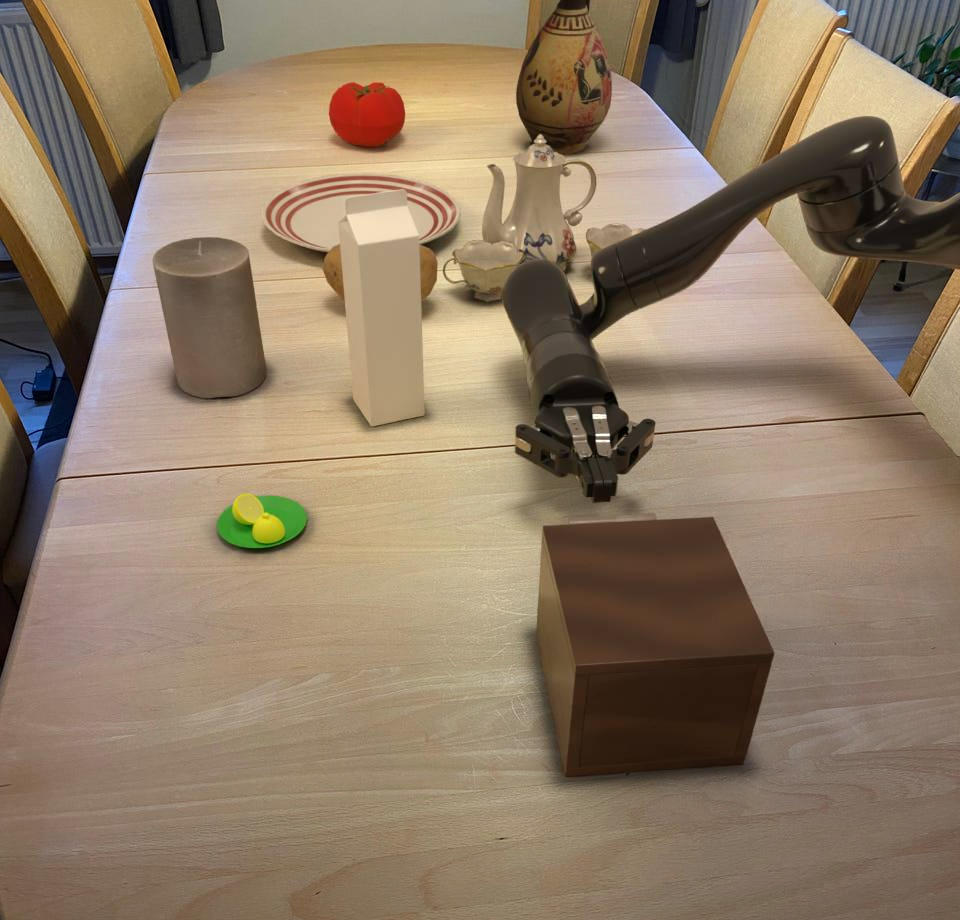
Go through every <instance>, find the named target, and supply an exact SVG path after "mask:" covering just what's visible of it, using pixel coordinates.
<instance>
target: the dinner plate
mask: <svg viewBox="0 0 960 920" xmlns="http://www.w3.org/2000/svg"><path fill="white" fill-rule="evenodd" d="M401 189H404V190H405V191H406V192H407V206H408V209H409V211H410V214H411V216H412V219H413V221H414V224H415V226H416V229H417V231H418V234H419V244H420V245H425V244H427V243H430V242H432V241H435V240H437V239H439V238H441V237H443V236H444V235H446V234H447V233H449V232H450V231H451V230H453V229H454V227H456V225H458V222H459V221H460V218H461V212H462V211H461V206H460V204H459V202H458V201H457V199H456V198H455V197H454V196H453V195H452V194H450V193H449V192H448V191H446V190H445V189H443V188H441V187H439V186H437V185H435V184H432V183H429V182H427V181H423V180H420V179H415V178H412V177H406V176H401V175H396V174H387V173H373V172H359V173H358V172H357V173H356V172H355V173H354V172H353V173H352V172H351V173H341V174H340V173H339V174H334V175H333V174H332V175H326V176H320V177H316V178H310V179H307V180H304V181H300V182H297V183H294V184H291V185H289V186H287V187H285V188H283V189H281V190H279V191H278V192H276V193H274V194H272V196H270V197H269V198H268V199H267V200H266V201H265V202H264V204H263V205H262V208H261V211H260V212H261V213H260V214H261V216H260V217H261V220H262V222H263V224H264V226H265V227H266V228H267V229H268V230H269V231H271V233H273V234H274V235H276V236H277V237H279V238H281V239H283V240H285V241H287V242H289V243H292V244H295V245H297V246H301V247H303V248H307V249H309V250H314V251H318V252H323V253H328V252H329V251H330V250H331V249H332V248H333V247H334V246H336V245H338V244H340V238H339V227H338V222H339V221H340V220H341V219H342V218H343V217H344V216H345V215H346V208H345V200H346V198H347V197H352V196H359V195H366V194H373V193H380V192H387V191H394V190H401Z"/></svg>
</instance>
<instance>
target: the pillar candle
mask: <svg viewBox="0 0 960 920" xmlns="http://www.w3.org/2000/svg"><path fill="white" fill-rule="evenodd" d="M152 267H153V271H154V276H155V281H156V285H157V290H158V296H159V299H160V304H161V310H162V314H163V318H164V324H165V328H166V334H167V338H168V343H169V347H170V352H171V358H172V362H173V367H174V372H175V378H176V381H177V385H178V387H179V388H180V389H181V390H182V391H183V392H185V393H186V394H188V395H190V396H193V397H196V398H201V399H214V398H221V397H222V398H225V397H227V398H228V397H239V396H243V395H245V394H247V393H249V392H253V390H255V389H257V388H259V386H261V385H262V383H263V382H264V380H265V379H266V376H267V372H268V370H267V369H268V368H267V363H266V357H265V351H264V345H263V339H262V338H263V337H262V331H261V326H260V318H259V311H258V305H257V299H256V291H255V286H254V285H255V284H254V278H253V272H252V265H251V259H250V252H249V249H248V248H247V246H245V245H244V244H242V243H241V242H239V241H237V240H234V239H230V238H223V237H217V236H216V237H215V236H214V237H213V236H203V237H190V238H184V239H180V240H177V241H172V242H170V243H168V244H166V245H164V246H162V247H160V248H159V249H158V250H156V251H155V253H154V254H153V257H152Z"/></svg>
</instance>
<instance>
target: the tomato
mask: <svg viewBox="0 0 960 920" xmlns="http://www.w3.org/2000/svg"><path fill="white" fill-rule="evenodd" d="M328 107H329V108H328V116H329V123H330V125H331V127H332V129H333V130H334V132H335V133H336V134H337V136H338V137H339V138H340V139H341V140H343V141H344V142H346V143H349V144H351V145H355V146H360V147H361V146H362V147H369V148H370V147H371V148H374V147H375V148H376V147H379V146H381V145H383V144H385V143H387V141H388V140H389V141H390V140H392V139H394V138H395V137H396V136H397V135H399V134H400V133H401V131H402V129H403V127H404V125H405V122H406V108H405V103H404V100H403V98H402V96H401V94H400V93H399V92H398V91H397V89H395V88H392V87H391V85H390V86H389V85H385V83H384V82H374V81H373V82H371V83H370V84H368V85H365V86H363V85H361V84H360V83H357V82H355V81H353V82H348V83H345V84H342V86H341V87H340V86H339V87H338V88H337V89H336V90H335V92H333V94H332V96H331V99H330V102H329V106H328Z"/></svg>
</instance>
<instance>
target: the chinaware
mask: <svg viewBox="0 0 960 920" xmlns="http://www.w3.org/2000/svg"><path fill="white" fill-rule="evenodd" d="M534 143H535V144H533V145H529V146H528V147H527V149H526V150H525V151H519V152H518V153H516V154H514V155H513V157H512V161H514V166H515V171H516V189H515V194H514V199H513V202H512V206H511V208H510V211H509V213H508V215H507V217H506V219H504V222H503V208H504V207H503V206H504V198H505V189H506V186H505V185H506V181H505V176H504V175H505V174H504V172H503V170H502V169H501V168H500V167H499V166H498V165H496V164H494V163H489V164H487V166H486V167H487V168H488V170H489V172H490V173H491V174H492V179H493V181H492V186H491V190H490V193H489V197H488V199H487V203H486V206H485V209H484V213H483V217H482V223H481V232H482V233H481V234H482V239H483V240H482V239H473V240H471V241H468V242H467V243H466V244H465V245H464V246H463V247H462V248H456V249H454V250H453V251H452V254H451V255H452V256H453V257H452V258H448V259H447V260H446V261H445V263H444V264H443V267H442V275H443V277H444V279H445V280H446V281H447V282H448V283H450V284H453V285H454V284H460V283H464V284H465V286H464V288H463V289H464V291H469V290H471V289H472V290H474V291H475V293H474V298H475V299H478V300H481V301H484V302H491V301H493V302H494V301H496V300H502V291H503V287H504V284H505V281H506V279H507V278H508V276H509V275H510V273H511V272H512V271H513V270H514V269H515V268H516V267H517V266H519V265H520V264H522V263H524V262H526V261H529V260H533V259H545V260H549V261H552V262H554V263H555V264H557V265H558V266H559V267H560V268H561V269H562V270H563V272H564V273H565V272H566V270H567V268H568V267H567V264H568V263H569V262H570V261H572V259H573V258H574V256H575V255H576V253H577V244H576V241H575V235H574V232H573V231H572V229H571V227H576V226H578V225H579V224H580V223H581V222H582V219H583V214H582V213H581V212H579V211H581V210H582V209H584V208H585V207H587V206H588V205H589V203H590V202H591V201H592V199H593V197H594V195H595V193H596V190H597V176H596V175H597V174H596V172H595V170H594V168H593V166H592V165H591V164H590V163H588V162H587V161H586V160H583V159H580V158H575V159H574V158H573V159H567V158H566V157H565V156H564V154H558V153H557V152H554V151H553V150H552V148H551V147H550V146H548V145H546V144H545V143H546V140H545V139H544V137H543V135H541V134H539V135H538V136H537V139H535V140H534ZM569 165H579V166H583V167H585V169H586V170H587V171H588V173H589V176H590V177H589V178H590V186H589V190H588V193H587V194H586V196H585V198H584V199H583V200H582V201H581V203H579V204H578V205H577V206H574V207H573V208H570V209H568V210H566V211H565V212H564V211H563V208H562V202H561V195H560V194H561V176H562V175H563V177H565V178H567V177H569V176H571V175H572V170H571V169H570V168H569V167H568V166H569ZM646 229H647V228H635V229H633V228H631V227H629V226H628V225H627V224H624V223H619V222H615V223H609V224H607V225H605V226H604V227H602V228H597V227H591V228H587V230H586V232H585V239H586V243H587V244H588V247H589V250H590V251H589V252H590V256H591V258H592V257H593V256H594V255H595V254H596V253H597V252H598V251H600V250H602V249H603V248H606V247H608V246H610V245H612V244H615V243H617V242H619V241H621V240H624V239H626V238H628V237H630V236H633V235H635V234H637V233H639V232H642V231H644V230H646ZM452 261H453V265H457V264H458V265H459V266H458V267H459V268H460V272H461V275H462V278H463V279H459V280H452V279H451V278H449V277H448V276H447V273H446V268H447V265H448V264H449V263H450V262H452Z"/></svg>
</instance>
